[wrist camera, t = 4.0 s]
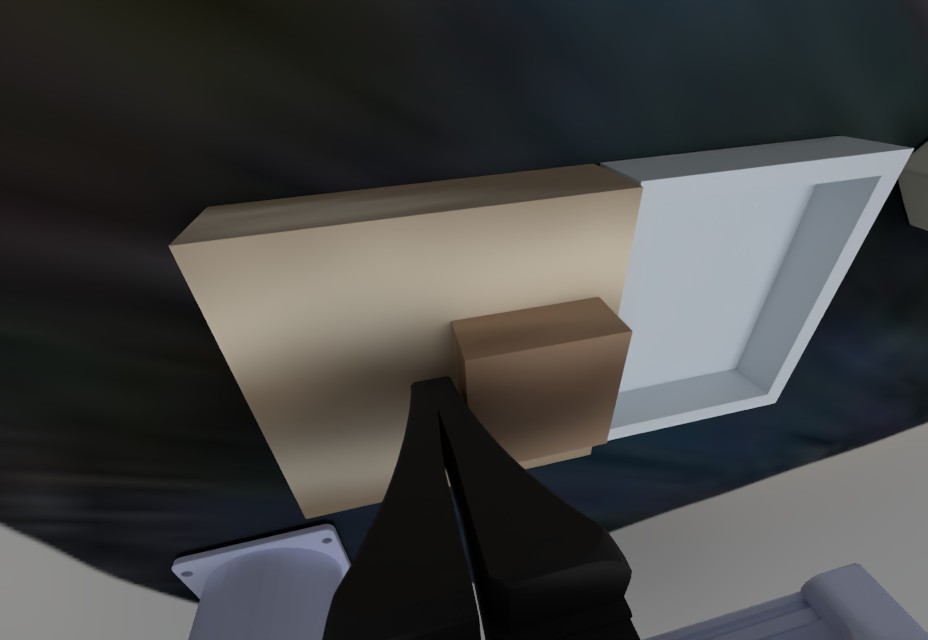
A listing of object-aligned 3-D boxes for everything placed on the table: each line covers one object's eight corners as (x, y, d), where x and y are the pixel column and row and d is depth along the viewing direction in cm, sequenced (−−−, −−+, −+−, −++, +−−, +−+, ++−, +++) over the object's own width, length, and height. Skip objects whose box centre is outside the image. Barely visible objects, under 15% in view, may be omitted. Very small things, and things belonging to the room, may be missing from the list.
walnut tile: (581, 403, 16) (606, 443, 14) (459, 428, 15) (471, 472, 14) (599, 297, 13) (632, 331, 12) (451, 320, 13) (465, 360, 11)
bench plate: (563, 406, 21) (590, 454, 18) (312, 458, 19) (306, 519, 16) (593, 163, 14) (643, 187, 11) (207, 206, 12) (168, 246, 10)
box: (737, 370, 22) (775, 402, 20) (567, 405, 21) (590, 444, 19) (840, 135, 15) (914, 148, 13) (600, 162, 14) (641, 181, 12)
